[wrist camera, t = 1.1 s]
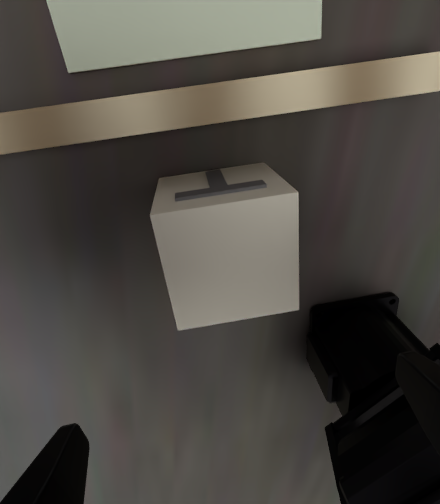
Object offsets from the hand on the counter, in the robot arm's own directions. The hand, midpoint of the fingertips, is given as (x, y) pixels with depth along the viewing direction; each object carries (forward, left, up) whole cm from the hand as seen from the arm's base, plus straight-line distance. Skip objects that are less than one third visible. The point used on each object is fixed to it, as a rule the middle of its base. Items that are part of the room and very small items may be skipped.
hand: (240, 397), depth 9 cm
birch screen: (-1, -7, -12) cm, 14 cm away
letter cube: (-1, -1, -12) cm, 12 cm away
